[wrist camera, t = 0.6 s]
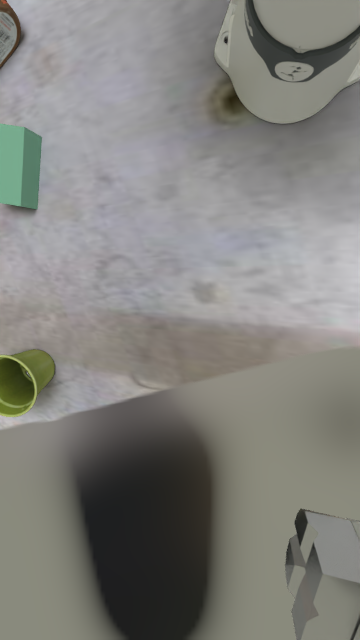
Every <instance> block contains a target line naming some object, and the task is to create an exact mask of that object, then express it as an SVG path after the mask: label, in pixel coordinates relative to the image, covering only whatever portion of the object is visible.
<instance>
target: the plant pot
mask: <svg viewBox="0 0 360 640" xmlns="http://www.w3.org/2000/svg"><path fill="white" fill-rule="evenodd" d="M54 369H55V365H54V362H53V360H52V358H51V357H50V356H49V355H48V354H47V353H46V352H44V351H41V350H35V349H33V350H29V351H25V352H22V353H18V354H15V355H0V415H2V416H6V417H17V416H21V415H23V414H25V413H26V412H28V411H29V410H30V409H31V408H32V406H33V405H34V403H35V401H36V398H37V395H38V394H39V393H40V392H41V390H42V389H43V388H44V387H45V386H46V385H47V384H48V382H49V381H50V380H51V379H52V378H53V376H54ZM26 371H27V372H28V374H29V375H30V376H31V378H30V377H29V376H28V375H27V374H26Z"/></svg>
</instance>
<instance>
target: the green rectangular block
mask: <svg viewBox="0 0 360 640" xmlns="http://www.w3.org/2000/svg"><path fill="white" fill-rule="evenodd" d="M41 141H42V137H41V136H39V135H37V134H35V133H34V132H32V131H30V130H28V129H27V128H25V127H19V126H12V125H5V124H0V203H3V204H9V205H15V206H21V207H27V208H33V209H37V208H38V191H39V174H40V158H41Z"/></svg>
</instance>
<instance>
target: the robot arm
mask: <svg viewBox="0 0 360 640" xmlns="http://www.w3.org/2000/svg"><path fill="white" fill-rule="evenodd" d="M226 39H228V44H226V43H225V42H224V41H225V40H226ZM214 57H215V60H216V62H217V63H218V64H219V65H220V67H221V68H222V69H223V70H224V71H225V72H226V73H227V74H228V75H229V77H230V79H231V81H232V83H233V86H234V89H235V91H236V94H237V96H238V97H239V99H240V101H241V102H242V103H243V105H244V106H245V107H246V108H247V109H248V110H249V111H250V112H251V113H253V114H254V115H255V116H257V117H259V118H261V119H263V120H265V121H268V122H272V123H281V124H285V123H294V122H298V121H301V120H304V119H306V118H308V117H310V116H312V115H314V114H316V113H317V112H318V111H320V110H321V109H322V108H324V107H325V106H326V105H327V104H328V103H329V102H330V101H331V100H332V99H333V97H334V96H335V95H336V94H337V93H338V92H339V91H341V90H342V89H343V88H345V87H348V86H350V85H352V84H353V83H355V82H357V81H359V80H360V0H231V1H230V4H229V7H228V10H227V13H226V16H225V19H224V21H223V24H222V27H221V30H220V33H219V36H218V39H217V42H216V45H215V49H214ZM295 528H296V532H297V534H296V535H295V536H293V537H292V538H290V539H289V544H288V548H287V551H286V563H285V571H286V581H287V587H288V590H289V591H290V593H291V594H292V595H293V596H294V598H295V601H294V604H293V608H292V617H293V622H294V627H295V634H296V639H297V640H360V521H357V520H352V519H344V518H340V517H336V516H331V515H327V514H323V513H318V512H314V511H310V510H305V509H300V510H299V512H298V513H297V516H296V519H295Z"/></svg>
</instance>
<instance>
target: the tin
mask: <svg viewBox="0 0 360 640" xmlns="http://www.w3.org/2000/svg"><path fill="white" fill-rule="evenodd" d="M20 34H21V27H20V22H19V19H18V17H17V15H16V13H15V12H14V10H13V9H12V8H11V6H10V5H9V4H8V3H7V1H6V0H0V67H1V66H2V65H3V64H4V63H5V62H6V60H7V59H8V58H9V57H10V56H11V55H12V53H13V52H14V50H15V49H16V47H17V45H18V43H19V40H20Z"/></svg>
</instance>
